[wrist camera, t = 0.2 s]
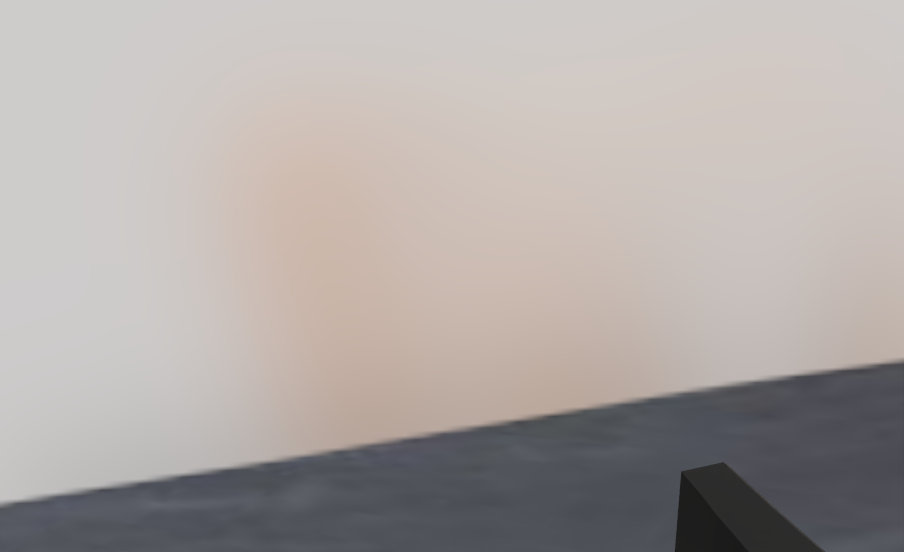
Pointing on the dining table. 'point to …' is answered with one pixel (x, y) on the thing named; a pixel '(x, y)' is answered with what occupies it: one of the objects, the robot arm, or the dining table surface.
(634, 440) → the dining table surface
